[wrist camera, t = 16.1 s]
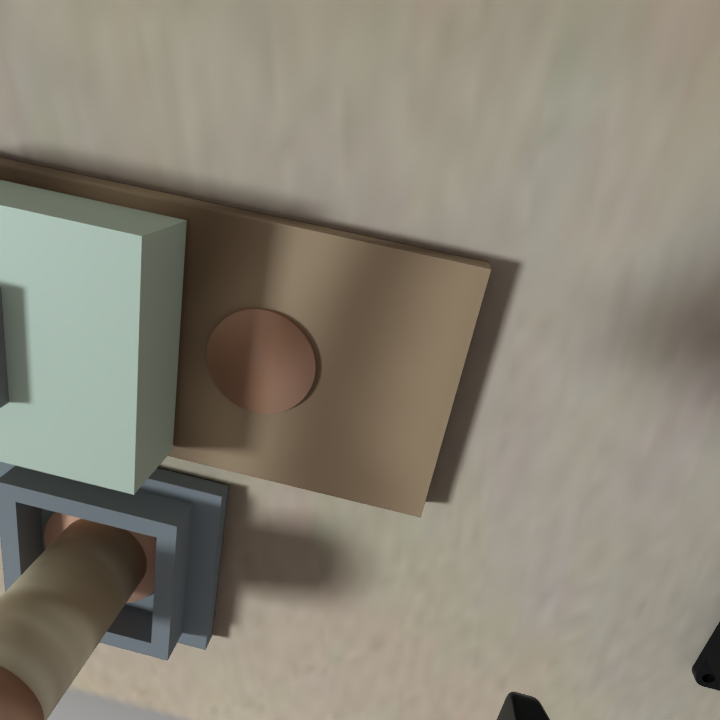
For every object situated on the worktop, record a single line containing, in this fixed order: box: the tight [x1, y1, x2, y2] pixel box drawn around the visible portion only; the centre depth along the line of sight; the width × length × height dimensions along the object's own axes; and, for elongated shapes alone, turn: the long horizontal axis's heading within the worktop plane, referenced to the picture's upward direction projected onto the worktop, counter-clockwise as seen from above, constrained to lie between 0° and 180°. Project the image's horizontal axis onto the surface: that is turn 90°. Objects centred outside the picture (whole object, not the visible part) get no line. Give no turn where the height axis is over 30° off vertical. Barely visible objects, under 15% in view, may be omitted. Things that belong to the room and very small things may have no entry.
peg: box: [0, 519, 147, 720], centre depth 21 cm, size 4×4×8 cm
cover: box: [0, 180, 187, 495], centre depth 19 cm, size 10×9×4 cm
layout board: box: [0, 157, 491, 517], centre depth 21 cm, size 20×10×1 cm, turn 79°
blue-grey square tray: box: [0, 462, 229, 660], centre depth 25 cm, size 10×9×2 cm
